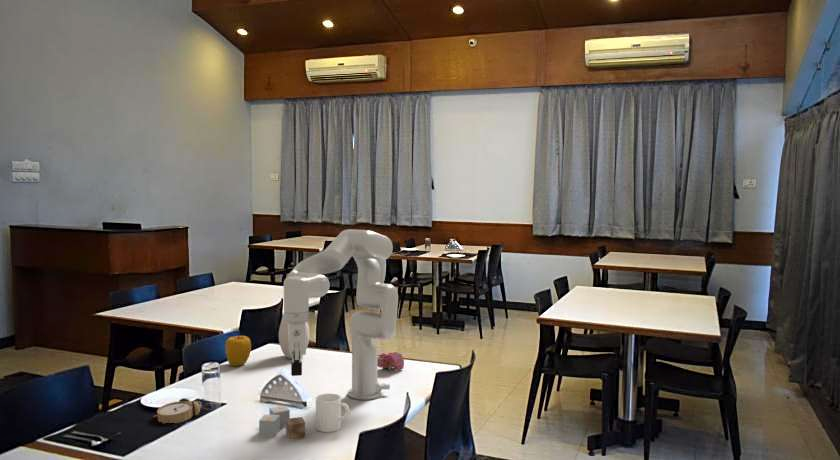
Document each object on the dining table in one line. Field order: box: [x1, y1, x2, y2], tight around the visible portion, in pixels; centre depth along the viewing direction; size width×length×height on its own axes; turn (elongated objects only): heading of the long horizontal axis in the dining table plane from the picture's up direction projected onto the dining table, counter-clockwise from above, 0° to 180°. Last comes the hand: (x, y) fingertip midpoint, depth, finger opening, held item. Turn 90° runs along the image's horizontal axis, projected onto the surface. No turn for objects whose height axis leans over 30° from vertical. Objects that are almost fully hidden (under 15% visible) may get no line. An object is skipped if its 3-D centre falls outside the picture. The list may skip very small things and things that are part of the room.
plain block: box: [285, 416, 306, 441], centre depth 188 cm, size 5×5×5 cm
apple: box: [224, 335, 252, 367], centre depth 263 cm, size 11×11×13 cm
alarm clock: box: [153, 397, 203, 424], centre depth 204 cm, size 11×5×15 cm
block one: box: [258, 414, 281, 437], centre depth 190 cm, size 5×5×5 cm
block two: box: [268, 405, 291, 428], centre depth 198 cm, size 5×5×5 cm
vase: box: [278, 312, 310, 360], centre depth 275 cm, size 14×14×30 cm
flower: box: [377, 351, 405, 375], centre depth 258 cm, size 11×10×10 cm
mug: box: [315, 393, 351, 433], centre depth 195 cm, size 8×12×10 cm
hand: (296, 374), depth 188 cm, fingers closed
